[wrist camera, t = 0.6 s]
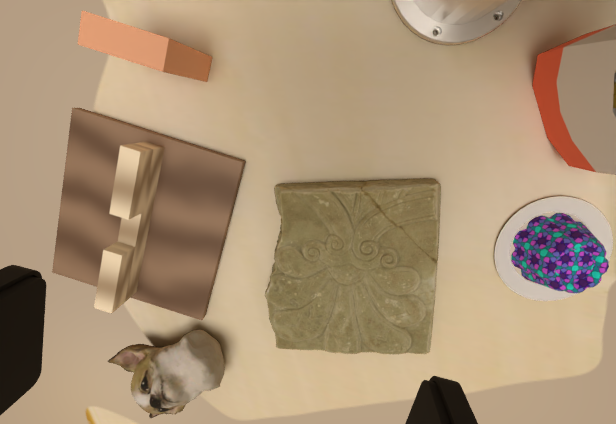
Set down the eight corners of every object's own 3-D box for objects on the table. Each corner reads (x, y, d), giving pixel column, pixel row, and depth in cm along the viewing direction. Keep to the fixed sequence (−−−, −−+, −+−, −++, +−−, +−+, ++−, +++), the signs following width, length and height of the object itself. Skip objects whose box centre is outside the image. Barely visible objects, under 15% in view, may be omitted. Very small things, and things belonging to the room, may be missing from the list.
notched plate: (147, 36, 38) (81, 10, 28) (212, 57, 38) (169, 38, 28) (143, 61, 39) (77, 44, 29) (206, 81, 39) (162, 71, 29)
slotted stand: (80, 107, 40) (35, 107, 34) (245, 161, 40) (229, 169, 34) (59, 268, 46) (17, 291, 40) (205, 315, 46) (185, 345, 40)
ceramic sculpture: (231, 423, 39) (126, 461, 43) (254, 367, 47) (164, 404, 51) (175, 343, 37) (70, 390, 41) (209, 299, 45) (119, 342, 49)
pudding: (597, 298, 42) (633, 324, 37) (486, 296, 43) (506, 321, 38) (618, 194, 38) (659, 206, 33) (497, 195, 40) (521, 207, 34)
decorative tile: (436, 177, 40) (446, 183, 36) (425, 341, 45) (432, 360, 42) (264, 178, 41) (257, 184, 38) (272, 337, 47) (267, 355, 43)
